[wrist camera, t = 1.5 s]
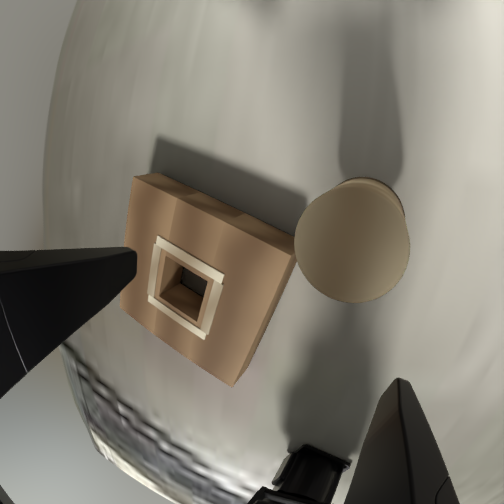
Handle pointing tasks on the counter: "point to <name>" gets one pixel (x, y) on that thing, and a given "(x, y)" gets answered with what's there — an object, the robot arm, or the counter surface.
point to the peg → (353, 241)
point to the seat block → (203, 273)
